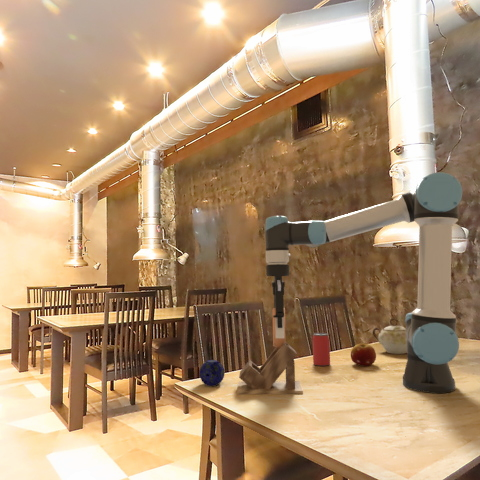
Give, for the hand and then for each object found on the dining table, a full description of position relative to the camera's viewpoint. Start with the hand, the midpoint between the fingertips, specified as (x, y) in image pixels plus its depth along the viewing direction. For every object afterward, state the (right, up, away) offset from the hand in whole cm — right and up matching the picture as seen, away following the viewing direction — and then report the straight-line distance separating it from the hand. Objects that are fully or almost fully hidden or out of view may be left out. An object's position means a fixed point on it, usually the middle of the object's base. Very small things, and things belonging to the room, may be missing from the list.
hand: (279, 336), depth 129 cm
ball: (-22, -17, +5) cm, 28 cm away
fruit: (+36, -18, +28) cm, 49 cm away
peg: (0, -3, 0) cm, 3 cm away
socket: (-3, -18, -1) cm, 18 cm away
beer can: (+20, -18, +30) cm, 40 cm away
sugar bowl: (+57, -19, +51) cm, 79 cm away
